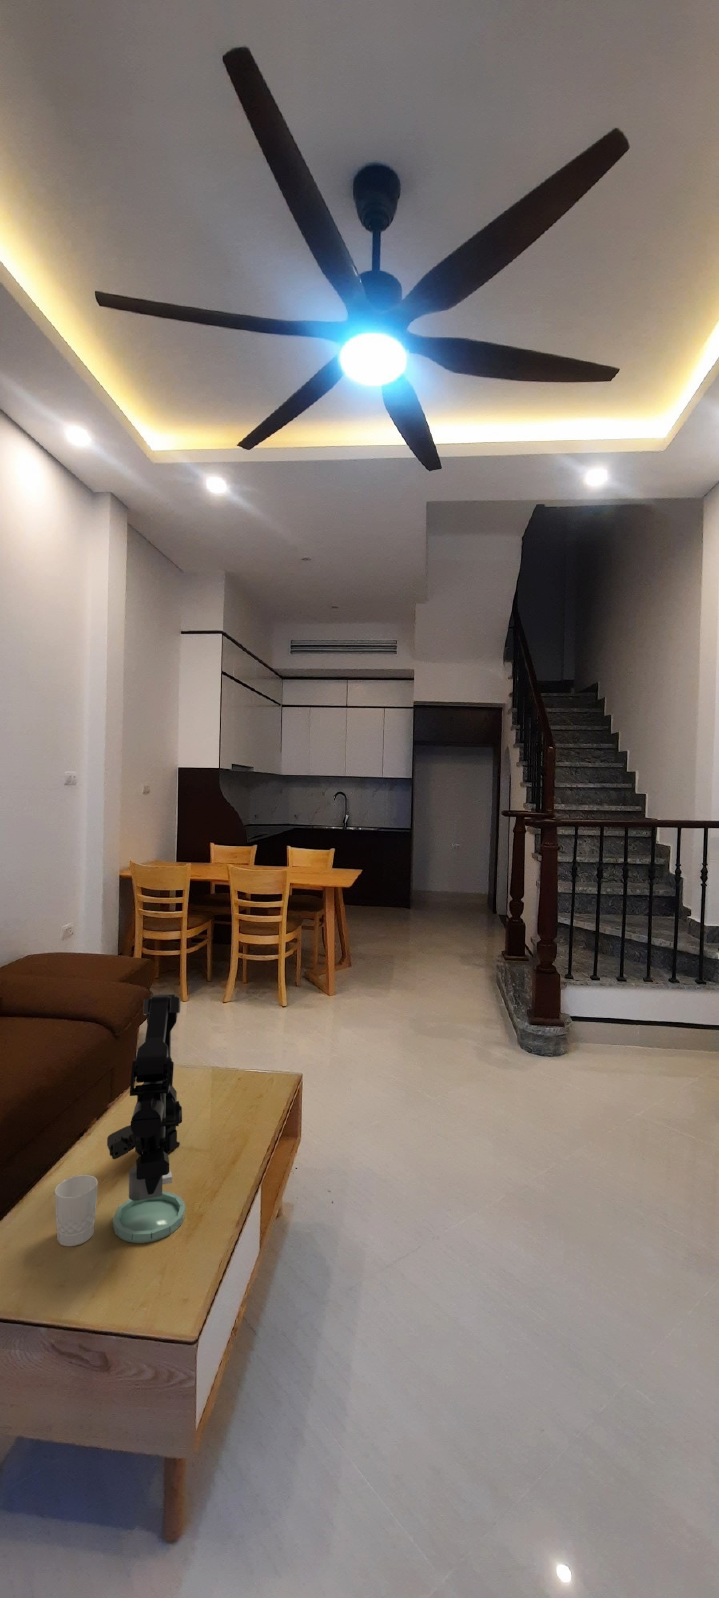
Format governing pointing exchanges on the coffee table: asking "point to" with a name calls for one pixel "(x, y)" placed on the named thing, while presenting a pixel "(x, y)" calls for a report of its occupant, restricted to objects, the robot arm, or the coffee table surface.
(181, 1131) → the coffee table surface
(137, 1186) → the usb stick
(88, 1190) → the white cup
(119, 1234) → the dish
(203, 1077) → the coffee table surface
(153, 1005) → the robot arm
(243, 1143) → the coffee table surface
